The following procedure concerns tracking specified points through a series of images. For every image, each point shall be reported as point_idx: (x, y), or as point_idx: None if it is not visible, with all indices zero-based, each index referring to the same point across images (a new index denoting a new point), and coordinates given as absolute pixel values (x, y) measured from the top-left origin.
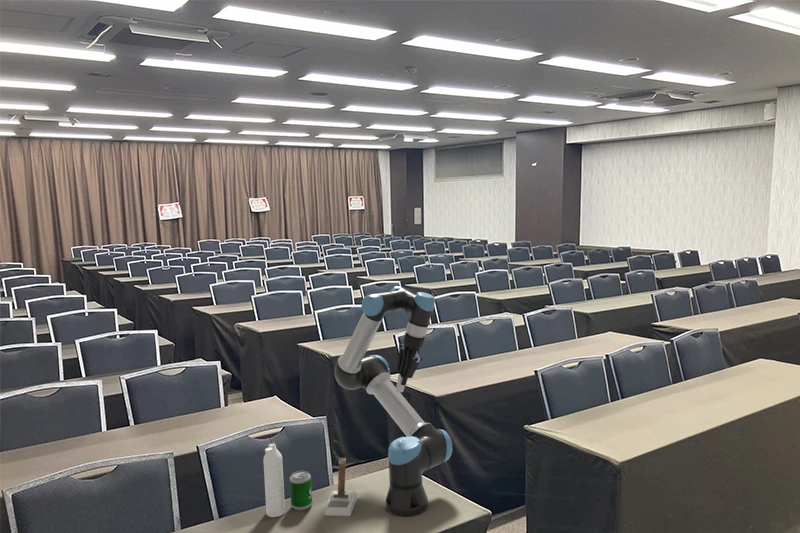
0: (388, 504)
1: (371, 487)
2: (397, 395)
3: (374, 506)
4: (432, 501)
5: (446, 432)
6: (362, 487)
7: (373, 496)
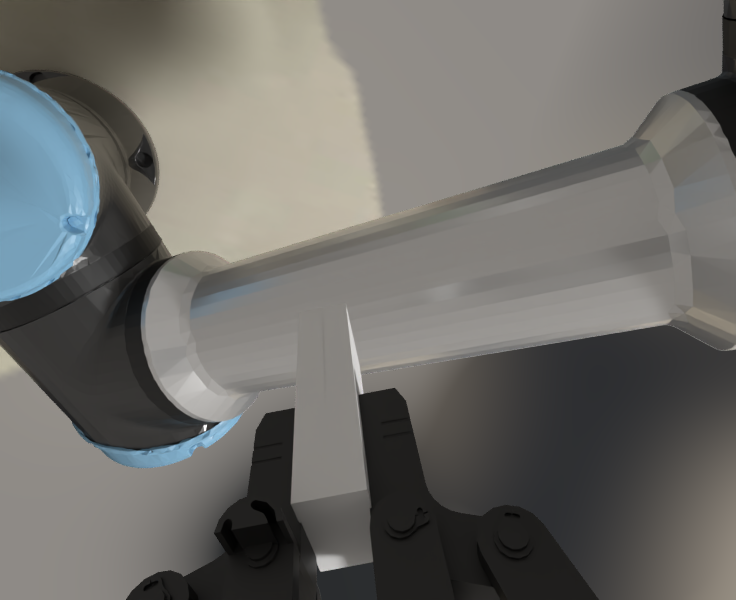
0: (23, 71)
1: (269, 84)
2: (448, 318)
3: (100, 35)
4: None
5: (151, 466)
6: (282, 50)
7: (191, 64)
